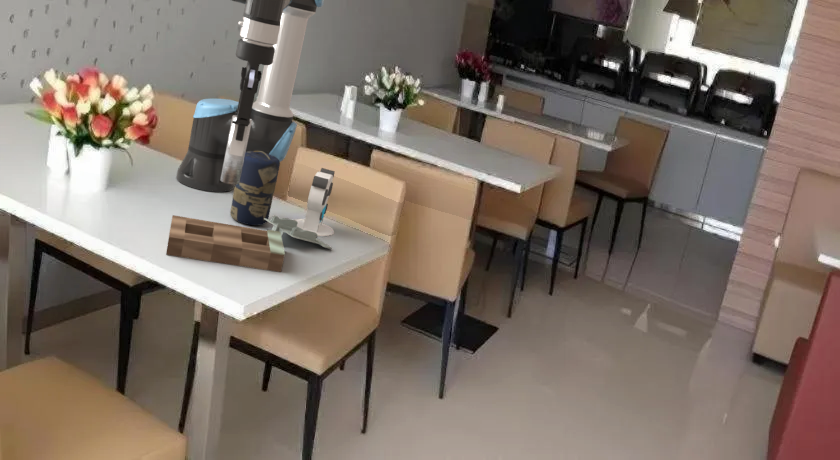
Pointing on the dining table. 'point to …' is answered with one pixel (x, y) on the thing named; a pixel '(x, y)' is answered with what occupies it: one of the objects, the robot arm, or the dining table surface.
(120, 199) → the dining table surface
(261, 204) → the canister
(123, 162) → the dining table surface
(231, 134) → the steel pin
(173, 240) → the pin plate
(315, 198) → the white upright piece
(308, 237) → the metal bracket
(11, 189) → the dining table surface
